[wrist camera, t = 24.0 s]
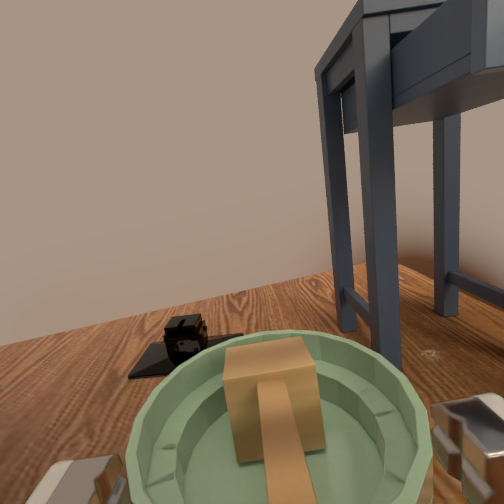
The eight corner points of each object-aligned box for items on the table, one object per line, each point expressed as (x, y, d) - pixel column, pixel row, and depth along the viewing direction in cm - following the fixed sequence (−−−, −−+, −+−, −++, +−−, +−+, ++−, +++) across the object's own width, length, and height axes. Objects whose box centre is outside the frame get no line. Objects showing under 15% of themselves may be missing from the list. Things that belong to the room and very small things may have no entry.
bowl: (102, 495, 20) (79, 427, 18) (266, 361, 32) (258, 314, 30) (344, 889, 8) (325, 774, 7) (460, 439, 20) (461, 368, 19)
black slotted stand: (127, 380, 32) (116, 342, 31) (152, 344, 39) (144, 312, 38) (239, 368, 31) (231, 328, 30) (244, 333, 38) (238, 300, 37)
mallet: (407, 666, 10) (391, 515, 9) (234, 698, 10) (203, 548, 9) (310, 405, 24) (301, 335, 23) (237, 417, 24) (225, 347, 23)
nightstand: (719, 469, 16) (910, -256, 9) (465, 509, 16) (480, -194, 9) (446, 307, 37) (447, 48, 31) (336, 324, 37) (314, 68, 31)
